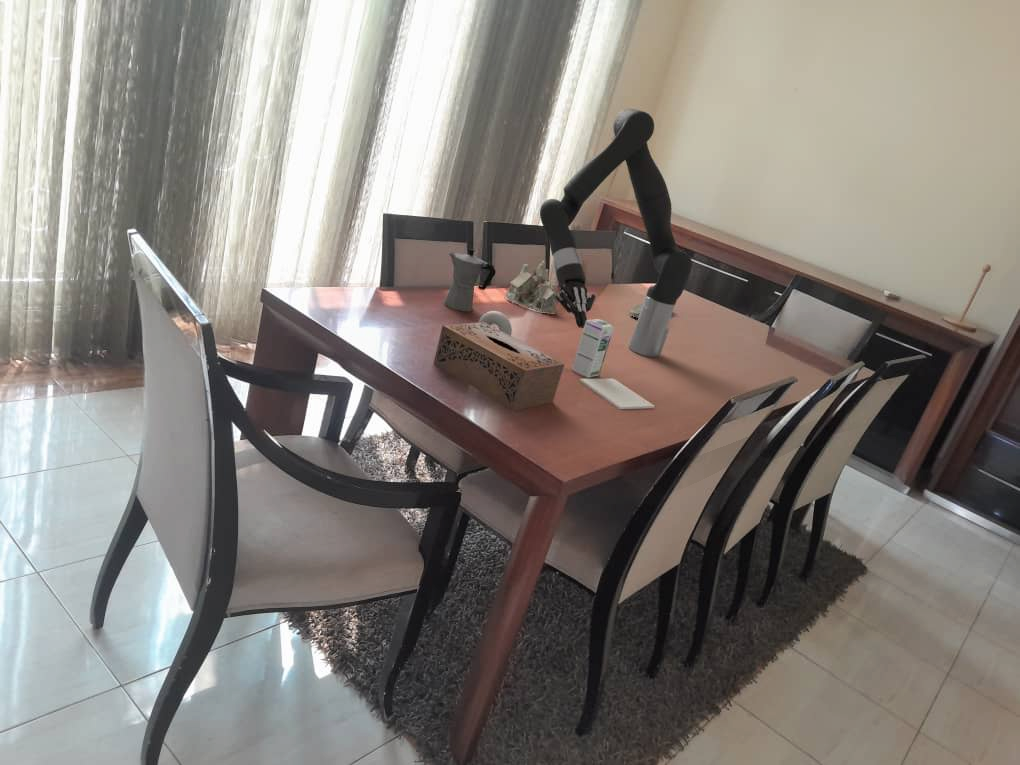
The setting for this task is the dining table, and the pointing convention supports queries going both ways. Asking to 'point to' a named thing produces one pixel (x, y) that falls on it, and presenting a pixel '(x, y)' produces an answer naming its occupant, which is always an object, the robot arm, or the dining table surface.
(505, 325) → the donut
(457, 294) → the coffeepot
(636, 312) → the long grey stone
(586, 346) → the syrup box
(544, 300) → the ceramic cottage
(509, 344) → the tissue box cover
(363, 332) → the dining table surface
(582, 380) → the mat
